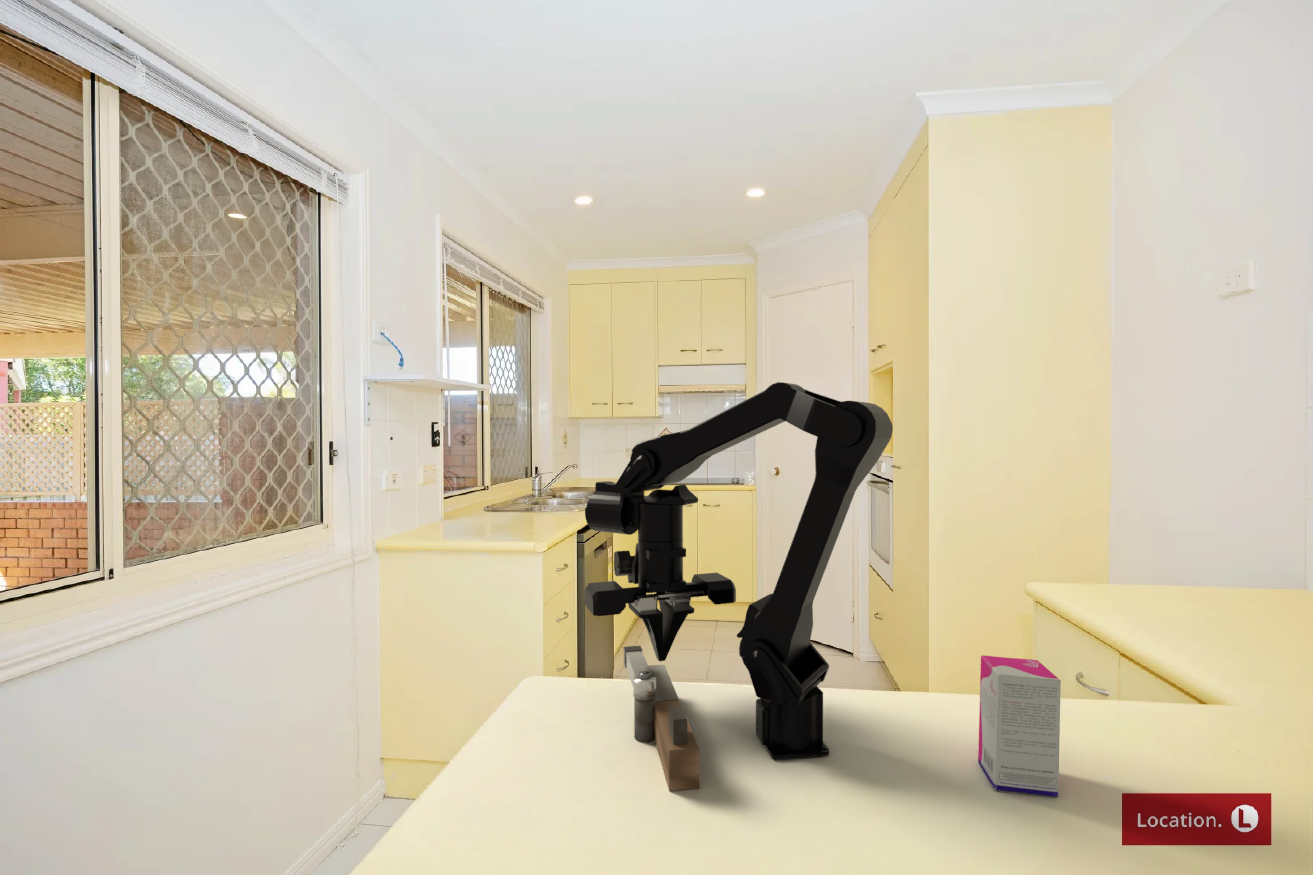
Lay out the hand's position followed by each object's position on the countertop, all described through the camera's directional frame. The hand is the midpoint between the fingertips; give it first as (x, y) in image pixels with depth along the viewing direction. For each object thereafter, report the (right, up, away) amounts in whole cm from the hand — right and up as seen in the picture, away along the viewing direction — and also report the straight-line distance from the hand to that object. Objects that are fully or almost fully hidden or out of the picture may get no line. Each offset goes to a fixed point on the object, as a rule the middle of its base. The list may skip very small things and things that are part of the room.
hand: (660, 660), depth 80 cm
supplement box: (+36, -6, -17) cm, 40 cm away
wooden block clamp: (0, -6, -8) cm, 10 cm away
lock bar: (-3, -1, -4) cm, 5 cm away
